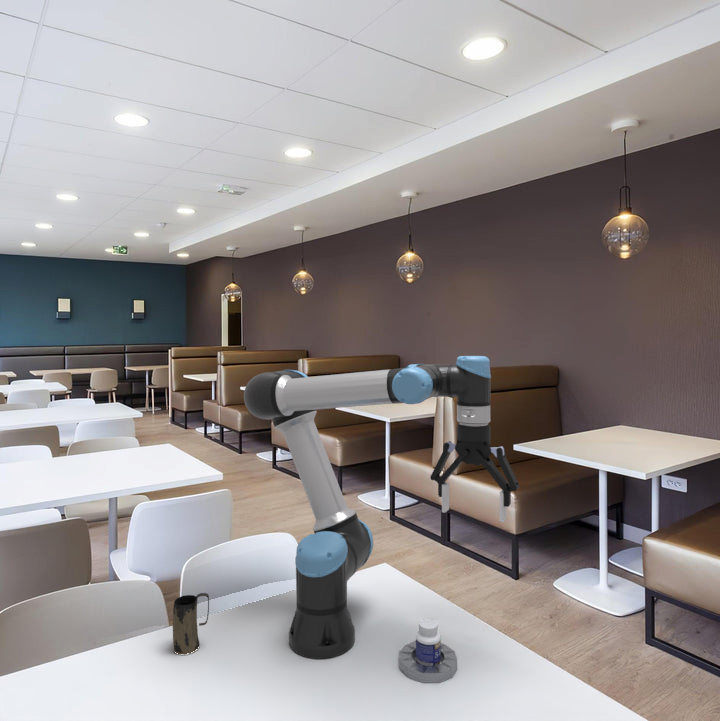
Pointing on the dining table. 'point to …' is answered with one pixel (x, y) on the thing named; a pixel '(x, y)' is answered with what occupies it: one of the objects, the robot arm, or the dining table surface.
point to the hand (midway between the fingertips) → (473, 515)
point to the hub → (427, 672)
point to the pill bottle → (428, 643)
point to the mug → (186, 623)
